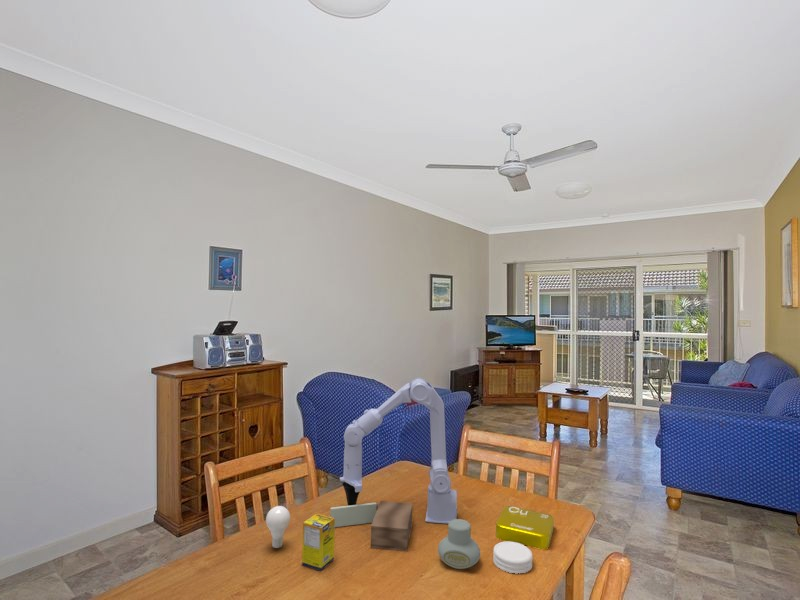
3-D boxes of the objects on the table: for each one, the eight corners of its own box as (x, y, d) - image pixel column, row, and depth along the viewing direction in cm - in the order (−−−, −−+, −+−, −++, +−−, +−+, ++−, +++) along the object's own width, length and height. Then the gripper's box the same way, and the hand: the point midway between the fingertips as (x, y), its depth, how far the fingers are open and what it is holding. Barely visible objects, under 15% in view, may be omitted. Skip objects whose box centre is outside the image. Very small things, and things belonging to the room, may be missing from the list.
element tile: (493, 539, 129) (494, 522, 130) (504, 518, 143) (505, 503, 143) (547, 552, 123) (548, 535, 123) (554, 529, 137) (554, 513, 137)
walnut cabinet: (412, 523, 137) (412, 503, 137) (406, 551, 121) (407, 528, 121) (379, 520, 138) (380, 500, 138) (370, 547, 122) (371, 525, 123)
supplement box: (334, 559, 116) (335, 517, 117) (321, 571, 111) (322, 527, 111) (315, 553, 119) (316, 512, 119) (301, 565, 113) (302, 522, 114)
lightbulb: (293, 544, 123) (294, 504, 124) (280, 556, 117) (281, 514, 118) (274, 539, 125) (275, 500, 126) (260, 551, 119) (261, 509, 120)
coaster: (525, 580, 110) (526, 565, 110) (487, 566, 115) (487, 553, 115) (536, 561, 119) (537, 547, 119) (500, 549, 124) (500, 536, 124)
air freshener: (435, 567, 114) (436, 528, 114) (440, 550, 122) (441, 513, 122) (478, 575, 111) (479, 534, 111) (481, 557, 119) (482, 519, 119)
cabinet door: (378, 521, 137) (378, 503, 137) (330, 527, 133) (331, 509, 133) (376, 518, 139) (377, 501, 139) (329, 524, 134) (330, 506, 134)
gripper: (334, 456, 147) (333, 498, 146) (346, 472, 133) (345, 518, 133) (355, 454, 149) (354, 495, 149) (369, 469, 136) (368, 514, 136)
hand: (351, 506), depth 141 cm, fingers closed
